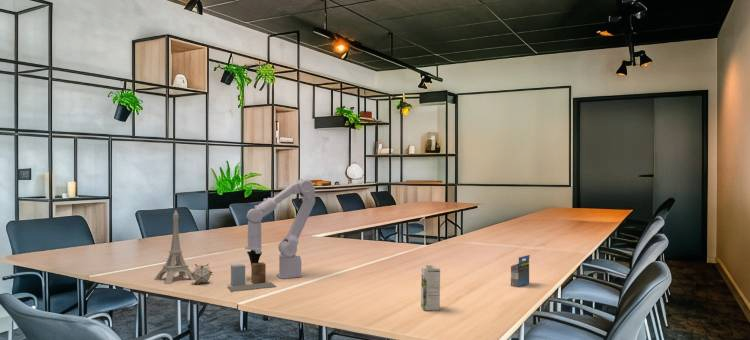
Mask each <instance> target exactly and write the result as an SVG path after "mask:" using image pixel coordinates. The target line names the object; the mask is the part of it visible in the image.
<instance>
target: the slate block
mask: <svg viewBox="0 0 750 340" xmlns="http://www.w3.org/2000/svg"><path fill="white" fill-rule="evenodd" d="M230 285H231V286H238V285H246V265H245V264H244V263H242V264H241V263H239V264H230Z"/></svg>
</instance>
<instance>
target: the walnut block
mask: <svg viewBox="0 0 750 340" xmlns="http://www.w3.org/2000/svg"><path fill="white" fill-rule="evenodd" d="M250 268H251V270H250V271H251V272H250V273H251V278H250V280H251V284H258V283H267V282H266V279H267V278H266V277H267V275H266V274H267V273H266V270H267V269H266V263H265V262H262V261H261V262H258V263H251V262H250Z"/></svg>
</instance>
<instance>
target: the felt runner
mask: <svg viewBox="0 0 750 340" xmlns="http://www.w3.org/2000/svg"><path fill="white" fill-rule="evenodd" d="M226 287H227V289H228V290H229V292H240V291H251V290H261V289H268V288H270V289H271V288H277V286H276V285H275V284H274V283H273V282H266V283H258V284H253V283H249V284H245V285H238V286H232V285H231V286H230V285H229V286H226Z"/></svg>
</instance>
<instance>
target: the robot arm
mask: <svg viewBox="0 0 750 340" xmlns="http://www.w3.org/2000/svg"><path fill="white" fill-rule="evenodd" d="M315 190H316V188H315V186H314V184H313V182H312V181H311V180H310V179H302V178H299V179H298V180H296V181H295V182H292V183H291V184H290V185H288V186H287V187H286V188H284V189H283V190H281V191H280V192H278V194H276V195H275V196H274V197H267V198H263V201H262V202H259V204H258V205H254V208H251V209H249V210H248V211H247V214H246V215H245V216H246V219H247V220H248V221H247V246H244V249H245V250H250V251H246V253H247V256H248V258H249V262H250V264H251V263H260V258H261V255H262V254H263V252H262V249H263V247H262V220H263V218H264V217H266V216H268V215H269V214H271V213H272V212H273V211H274V210H275V209H277V205H278V204H279V203H281V202H282V201H285V199H287V198H288V197H290V196H291V195H297V194H298V195H299V196H300V197H301V201H302V203H301V206H300V207H299V210H298V212H297V213H296V215H295V218H294V220H293V222H292V224H291V227H289V228H290V229H289V231H288V233H287V234H286V235H285V237H284V238H283V239H282V240H281V241H280V242H279V244H278V247H277V248H278V251H279V252H280V254H279V256H278V257H279V258H278V259H279V260H278V261H279V262H278V264H279V265H278V266H279V267H278V268H279V269H278V270H279V272H278V273H277V274H276V277H278V278H280V279H282V280H283V279H291V278H301V277H302V276H303V275H302V257H301V256H300V255H297V251H298V245H299V238H300V235H301V233H302V232H303V229H304V227H305V225H306V223H307V220H308V218H309V216H310V214H311V212H312V210H313V207H314V206H315V204H316V194H315V193H316V192H315Z"/></svg>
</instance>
